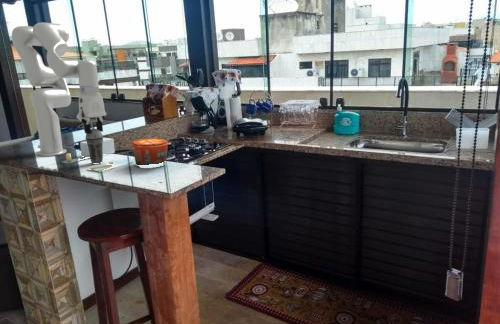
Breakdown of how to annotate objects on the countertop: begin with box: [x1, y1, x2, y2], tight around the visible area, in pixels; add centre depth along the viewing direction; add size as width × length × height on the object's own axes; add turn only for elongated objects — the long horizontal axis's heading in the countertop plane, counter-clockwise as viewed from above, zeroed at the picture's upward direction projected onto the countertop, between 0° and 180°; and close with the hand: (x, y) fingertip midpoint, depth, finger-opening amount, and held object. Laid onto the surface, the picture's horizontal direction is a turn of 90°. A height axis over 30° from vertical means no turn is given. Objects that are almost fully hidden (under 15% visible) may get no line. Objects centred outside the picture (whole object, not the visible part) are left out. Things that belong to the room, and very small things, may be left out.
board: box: [86, 160, 114, 171], centre depth 158 cm, size 8×18×1 cm, turn 153°
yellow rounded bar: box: [60, 152, 85, 165], centre depth 168 cm, size 5×12×4 cm, turn 153°
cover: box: [79, 137, 116, 157], centre depth 179 cm, size 7×14×7 cm, turn 153°
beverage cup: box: [85, 118, 104, 164], centre depth 161 cm, size 7×7×20 cm
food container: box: [130, 137, 170, 165], centre depth 160 cm, size 16×16×11 cm
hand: (94, 131), depth 160 cm, fingers closed on beverage cup, 5 cm apart
